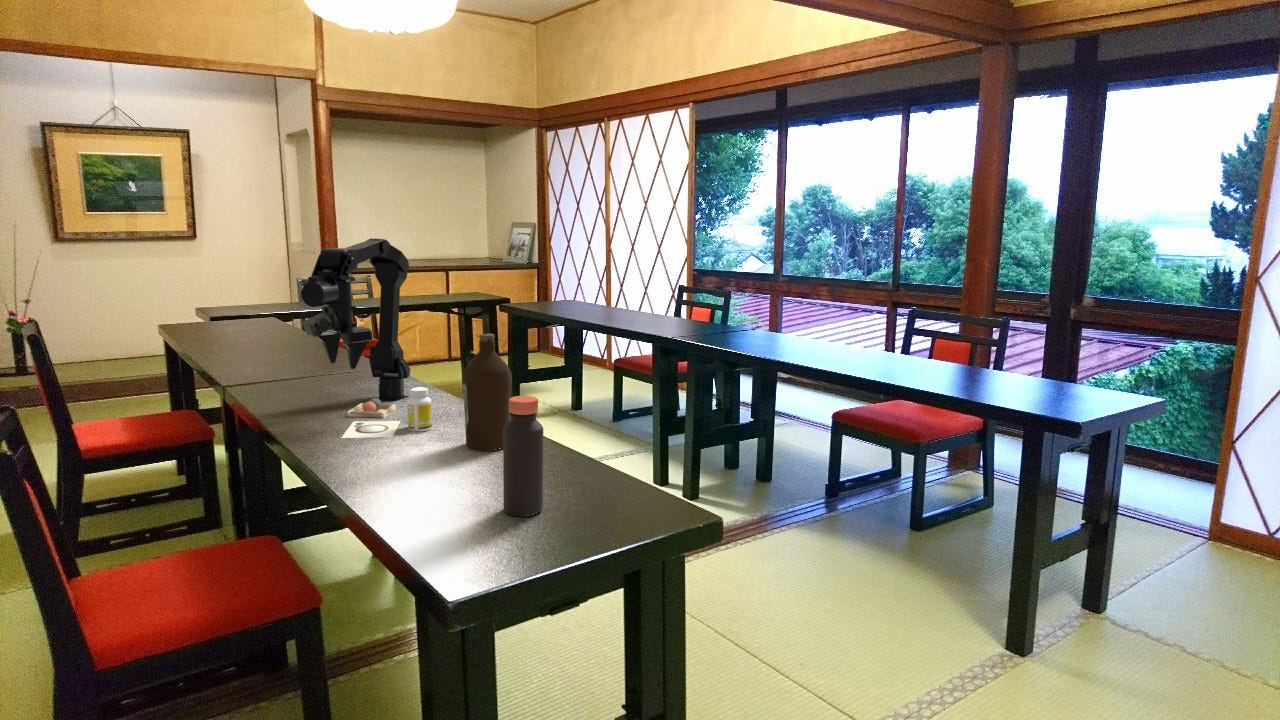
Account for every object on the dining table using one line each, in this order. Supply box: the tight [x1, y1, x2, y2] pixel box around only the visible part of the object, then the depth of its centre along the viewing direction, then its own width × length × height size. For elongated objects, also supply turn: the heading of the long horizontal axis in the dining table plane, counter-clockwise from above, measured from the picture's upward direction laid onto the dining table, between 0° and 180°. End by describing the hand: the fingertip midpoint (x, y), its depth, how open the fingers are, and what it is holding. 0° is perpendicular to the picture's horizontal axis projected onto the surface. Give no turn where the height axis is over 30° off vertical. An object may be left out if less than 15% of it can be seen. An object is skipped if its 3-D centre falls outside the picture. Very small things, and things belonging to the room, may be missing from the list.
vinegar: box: [502, 395, 544, 517], centre depth 129 cm, size 7×7×20 cm
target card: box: [340, 420, 401, 439], centre depth 176 cm, size 14×11×1 cm
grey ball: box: [368, 397, 382, 411], centre depth 192 cm, size 3×3×3 cm
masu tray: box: [347, 402, 397, 419], centre depth 190 cm, size 9×9×2 cm
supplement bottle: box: [407, 386, 433, 433], centre depth 178 cm, size 5×5×10 cm
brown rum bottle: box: [461, 333, 513, 452], centre depth 165 cm, size 11×11×25 cm
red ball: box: [363, 401, 376, 412], centre depth 188 cm, size 3×3×3 cm
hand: (342, 365), depth 182 cm, fingers open, 9 cm apart
